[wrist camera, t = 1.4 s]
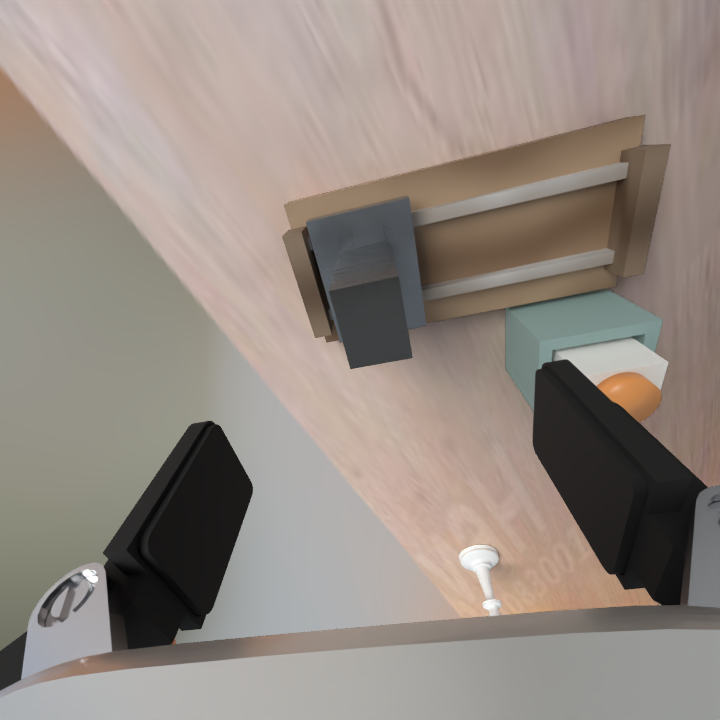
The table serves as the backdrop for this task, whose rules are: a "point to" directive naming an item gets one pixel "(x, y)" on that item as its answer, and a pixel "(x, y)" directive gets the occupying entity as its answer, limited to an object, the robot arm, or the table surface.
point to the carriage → (371, 278)
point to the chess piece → (483, 572)
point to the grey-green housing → (570, 330)
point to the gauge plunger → (621, 372)
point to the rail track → (509, 222)
